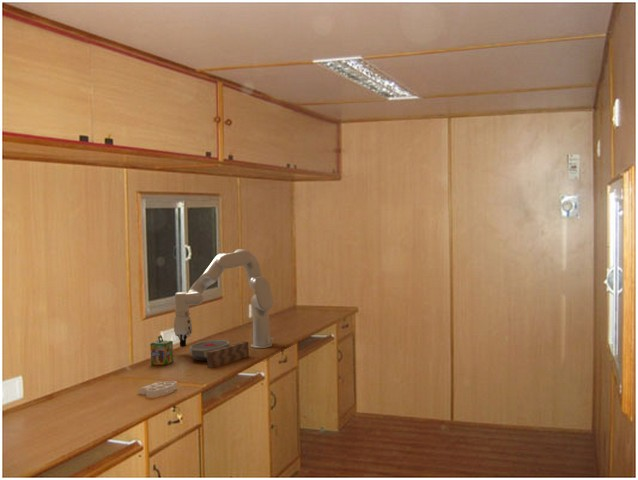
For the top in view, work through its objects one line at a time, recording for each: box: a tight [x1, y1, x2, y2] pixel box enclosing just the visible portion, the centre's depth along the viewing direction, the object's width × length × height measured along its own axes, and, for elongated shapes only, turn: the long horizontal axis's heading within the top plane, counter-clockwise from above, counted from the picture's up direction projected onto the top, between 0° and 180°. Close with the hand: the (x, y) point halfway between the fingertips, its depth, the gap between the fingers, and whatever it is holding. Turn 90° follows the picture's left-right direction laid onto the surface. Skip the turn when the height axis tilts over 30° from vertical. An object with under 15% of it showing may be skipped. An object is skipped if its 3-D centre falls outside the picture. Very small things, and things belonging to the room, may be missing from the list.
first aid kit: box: [189, 339, 230, 362], centre depth 377 cm, size 18×8×25 cm
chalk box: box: [149, 334, 174, 366], centre depth 366 cm, size 9×9×15 cm
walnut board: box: [206, 341, 250, 369], centre depth 367 cm, size 30×3×8 cm, turn 147°
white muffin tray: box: [137, 380, 178, 399], centre depth 310 cm, size 3×18×15 cm
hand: (183, 346), depth 388 cm, fingers closed
